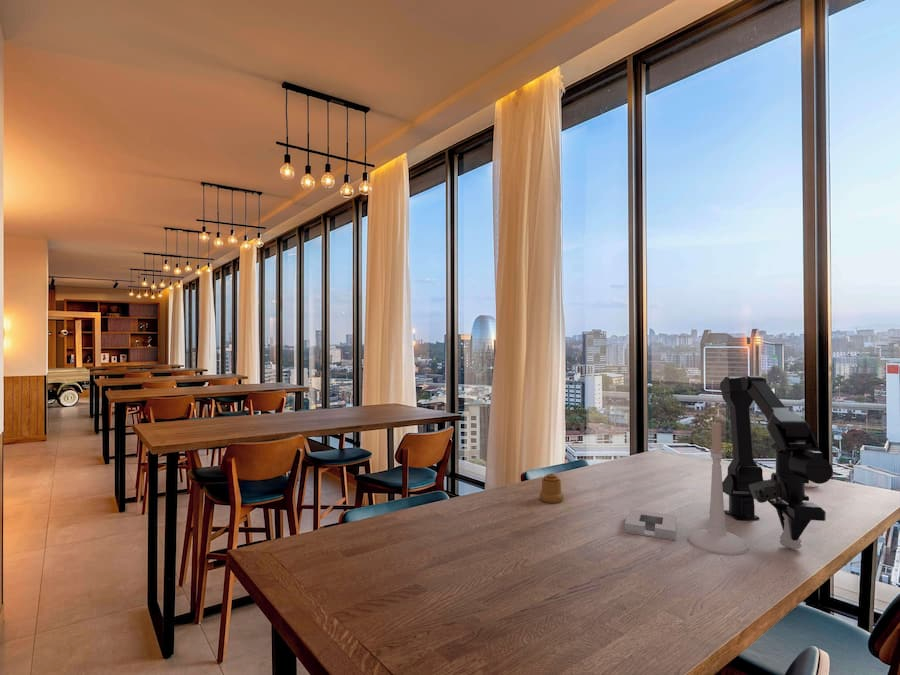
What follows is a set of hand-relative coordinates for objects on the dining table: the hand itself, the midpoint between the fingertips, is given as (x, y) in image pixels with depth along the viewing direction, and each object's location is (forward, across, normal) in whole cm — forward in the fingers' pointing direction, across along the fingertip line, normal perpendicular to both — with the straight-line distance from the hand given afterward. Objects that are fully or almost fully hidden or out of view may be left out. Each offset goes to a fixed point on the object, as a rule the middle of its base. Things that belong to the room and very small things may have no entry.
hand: (790, 536), depth 117 cm
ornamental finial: (+3, -26, -56) cm, 62 cm away
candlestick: (+3, 0, -16) cm, 16 cm away
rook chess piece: (+2, 0, 0) cm, 2 cm away
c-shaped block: (+3, -8, -30) cm, 31 cm away
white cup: (+3, -60, +32) cm, 68 cm away
